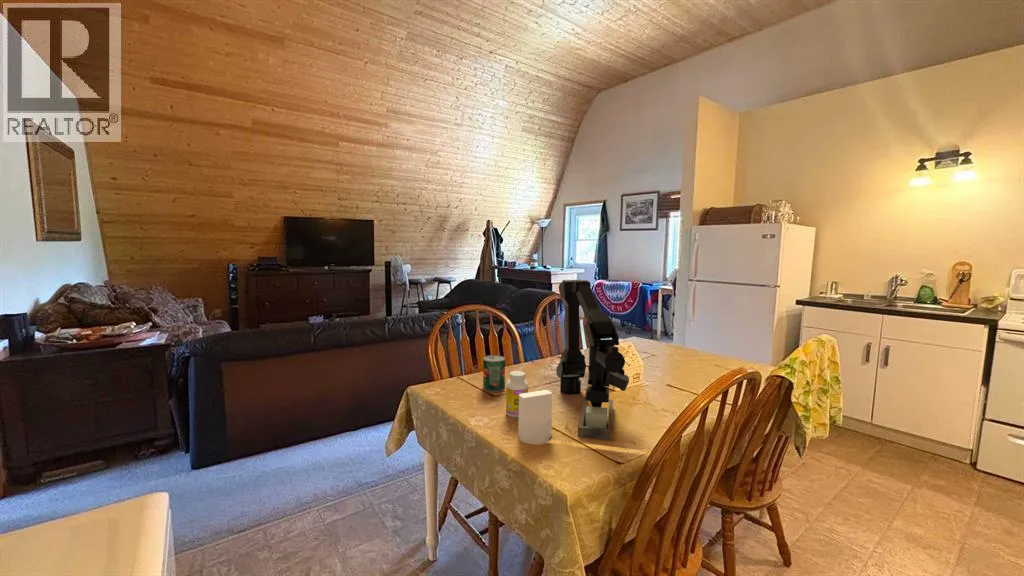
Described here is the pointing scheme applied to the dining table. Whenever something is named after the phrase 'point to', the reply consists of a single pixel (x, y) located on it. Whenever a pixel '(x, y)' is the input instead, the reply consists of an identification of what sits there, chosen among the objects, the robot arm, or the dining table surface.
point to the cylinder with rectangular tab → (535, 417)
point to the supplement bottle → (515, 392)
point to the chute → (594, 431)
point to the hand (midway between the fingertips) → (597, 413)
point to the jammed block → (596, 417)
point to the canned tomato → (494, 373)
